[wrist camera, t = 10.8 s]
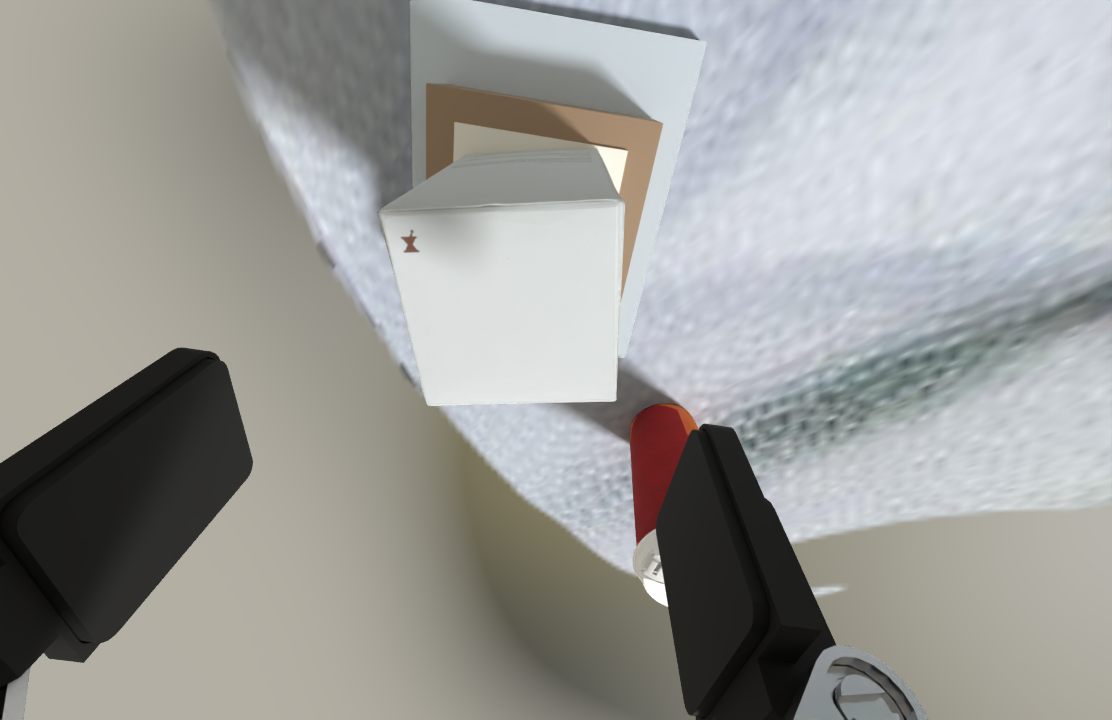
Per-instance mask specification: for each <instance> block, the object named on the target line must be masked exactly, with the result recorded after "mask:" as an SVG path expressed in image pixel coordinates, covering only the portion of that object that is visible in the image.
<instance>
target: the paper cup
mask: <svg viewBox="0 0 1112 720" xmlns="http://www.w3.org/2000/svg"><path fill="white" fill-rule="evenodd" d="M694 429H695V430H699V429H698V427H697V425H696V423H695V421H694V419H693V417H692V416H691V415H690V413H689V412H688V411H686V410H685V409H683V408H682V407H679V406H677V405H673V404H657V405H653V406H650V407H648V408H646V409H644V410H642V411H641V412H640V413H639V414H638V415H637V416H636V417H635V418H634V420H633V422H632V424H631V428H630V451H631V468H632V484H633V499H634V516H635V530H636V545H637V547H636V549H635V551H634V555H633V567H634V570H635V572H636V574H637V576H638V577H639V579H640V580H641V581H642V583H643V586H644V588H645V589H646V591H647V592H648V594H649V595H650V596H651V597H652V598H653V599H655V600H656V601H657V602H659V603H661V604H663V605H665V606H668V603H667V597H666V590H665V584H664V578H663V572H662V566H661V560H660V554H659V548H658V542H657V536H656V521H657V516H658V513H659V511H660V508H661V506H662V503H663V501H664V498H665V495H666V493H667V490H668V488H669V485H670V483H671V480H672V477H673V475H674V472H675V470H676V467H677V465H678V462H679V459H680V457H681V454H682V452H683V449H684V447H685V444H686V442H687V439H688V436H689V434H690V432H691V431H692V430H694Z"/></svg>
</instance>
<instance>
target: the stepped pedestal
mask: <svg viewBox="0 0 1112 720" xmlns="http://www.w3.org/2000/svg"><path fill="white" fill-rule="evenodd" d="M706 45H707V42H705V41H699V40H694V39H688V38H682V37H677V36H671V35H665V34H660V33H654V32H648V31H643V30H637V29H632V28H626V27H620V26H615V25H609V24H603V23H598V22H592V21H586V20H581V19H575V18H569V17H564V16H558V15H552V14H547V13H541V12H536V11H530V10H524V9H519V8H513V7H507V6H502V5H496V4H490V3H485V2H479V1H473V0H410V60H411V131H412V189H413V188H414V187H416V186H417V185H419V184H420V183H422V182H424V181H425V180H427V179H428V178H430V177H431V176H433V175H435V174H436V173H438V172H439V171H441V170H443V169H444V168H446V167H447V166H449V165H450V164H452V163H453V162H455V161H456V160H458V159H460V158H461V157H463V156H464V155H470V154H485V153H502V152H518V151H533V150H553V149H577V148H597V149H598V151H599V153H600V155H601V157H602V158H603V161H604V163H605V165H606V167H607V170H608V172H609V174H610V176H611V179H612V181H613V183H614V186H615V188H616V190H617V192H618V193H619V195H620V196H621V198H622V199H623V201H624V203H625V217H624V242H623V264H622V285H621V304H620V323H619V343H618V357H621V358H625V356H626V352H627V349H628V345H629V341H630V337H631V333H632V329H633V326H634V322H635V318H636V314H637V310H638V306H639V303H640V299H641V295H642V291H643V287H644V283H645V279H646V276H647V272H648V268H649V264H650V260H651V256H652V253H653V249H654V245H655V241H656V237H657V233H658V230H659V226H660V222H661V218H662V214H663V210H664V207H665V203H666V199H667V195H668V191H669V187H670V184H671V180H672V176H673V172H674V168H675V164H676V160H677V157H678V153H679V149H680V145H681V141H682V137H683V134H684V130H685V126H686V122H687V118H688V114H689V111H690V107H691V103H692V99H693V95H694V91H695V88H696V84H697V80H698V76H699V72H700V68H701V65H702V61H703V57H704V53H705V49H706Z"/></svg>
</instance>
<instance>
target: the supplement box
mask: <svg viewBox="0 0 1112 720" xmlns="http://www.w3.org/2000/svg"><path fill="white" fill-rule="evenodd" d="M378 216H379V220H380V223H381V227H382V231H383V234H384V238H385V242H386V245H387V249H388V253H389V257H390V260H391V264H392V268H393V272H394V275H395V279H396V283H397V287H398V291H399V295H400V299H401V304H402V308H403V312H404V316H405V320H406V324H407V328H408V333H409V337H410V341H411V345H412V349H413V353H414V357H415V361H416V365H417V369H418V374H419V377H420V382H421V386H422V390H423V394H424V397H425V400H426V403H427V405H429V406H443V405H477V404H521V403H564V402H613V401H616V400H617V399H616V390H617V368H618V343H619V323H620V304H621V285H622V264H623V242H624V217H625V203H624V201H623V199H622V198H621V196H620V195H619V193H618V192H617V190H616V188H615V186H614V183H613V181H612V179H611V176H610V174H609V172H608V170H607V167H606V165H605V163H604V161H603V158H602V157H601V155H600V153H599V151H598V149H597V148H577V149H553V150H533V151H518V152H502V153H485V154H470V155H464V156H463V157H461V158H460V159H458V160H456V161H455V162H453V163H452V164H450V165H449V166H447V167H446V168H444V169H443V170H441V171H439V172H438V173H436V174H435V175H433V176H431V177H430V178H428V179H427V180H425V181H424V182H422V183H420V184H419V185H417V186H416V187H414V188H413V189H411V190H410V191H408V192H406V193H405V194H403V195H402V196H400V197H398V198H397V199H395V200H394V201H392V202H390V203H389V204H387V205H386V206H384V207H383V208H381V209H380V210H379V211H378Z"/></svg>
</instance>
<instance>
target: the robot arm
mask: <svg viewBox="0 0 1112 720" xmlns="http://www.w3.org/2000/svg"><path fill="white" fill-rule="evenodd" d="M252 465H253V461H252V456H251V452H250V448H249V445H248V441H247V437H246V434H245V430H244V426H243V423H242V419H241V416H240V412H239V408H238V404H237V401H236V397H235V393H234V390H233V386H232V382H231V379H230V375H229V371H228V368H227V366H226V364H225V363H224V362H223V361H220V359H219V357H218V356H217V355H216V354H215V353H213V352H210V351H203V350H196V349H189V348H177V349H174V350H172V351H170V352H169V353H167V354H166V355H164V356H163V357H161V358H160V359H158V360H157V361H155V362H154V363H152V364H151V365H149V366H148V367H146V368H145V369H143V370H142V371H140V372H138V373H137V374H135V375H134V376H133V377H131V378H129V379H128V380H126V381H125V382H123V383H122V384H120V385H119V386H117V387H116V388H114V389H113V390H111V391H110V392H108V393H107V394H105V395H104V396H102V397H101V398H99V399H97V400H96V401H94V402H93V403H92V404H90V405H88V406H87V407H85V408H84V409H82V410H81V411H79V412H78V413H76V414H75V415H73V416H72V417H70V418H69V419H67V420H66V421H64V422H63V423H61V424H60V425H58V426H56V427H55V428H53V429H52V430H50V431H49V432H47V433H46V434H44V435H43V436H41V437H40V438H38V439H37V440H35V441H34V442H32V443H31V444H29V445H27V446H26V447H24V448H23V449H22V450H20V451H18V452H17V453H15V454H14V455H12V456H11V457H9V458H8V459H6V460H5V461H3V462H2V463H0V720H23V719H24V711H25V703H26V695H27V688H28V681H29V673H30V666H31V665H32V664H33V663H34V662H35V661H36V660H37V659H38V658H39V657H40V656H41V655H42V654H43V653H45V655H46V656H47V657H48V658H49V659H57V660H66V661H74V662H82V663H84V662H85V660H86V659H87V658H88V657H89V656H90V655H91V654H92V652H93V651H94V650H95V649H96V648H97V646H98V645H99V644H100V643H102V642H105V641H108V640H109V639H111V638H112V637H113V636H114V635H115V634H116V633H117V632H118V631H119V630H120V629H121V628H122V627H123V625H124V624H125V623H126V622H127V621H128V619H129V618H130V617H131V616H132V615H133V614H134V612H135V611H136V610H137V609H138V608H139V607H140V605H141V604H142V603H143V602H144V601H145V599H146V598H147V597H148V596H149V595H150V593H151V592H152V591H153V590H154V589H155V587H156V586H157V585H158V584H159V583H160V582H161V580H162V579H163V578H164V577H165V575H166V574H167V573H168V572H169V571H170V569H171V568H172V567H173V566H174V565H175V564H176V563H177V561H178V560H179V559H180V558H181V557H182V555H183V554H184V553H185V552H186V551H187V549H188V548H189V547H190V546H191V545H192V543H193V542H194V541H195V540H196V539H197V538H198V536H199V535H200V534H201V533H202V532H203V530H204V529H205V528H206V527H207V526H208V524H209V523H210V522H211V521H212V520H213V518H214V517H215V516H216V515H217V514H218V512H219V511H220V510H221V509H222V508H223V507H224V505H225V504H226V503H227V502H228V501H229V499H230V498H231V497H232V496H233V495H234V494H235V492H236V491H237V490H238V489H239V488H240V486H241V485H242V484H243V483H244V482H245V480H246V479H247V478H248V476H249V475H250V473H251V470H252ZM656 536H657V542H658V548H659V554H660V560H661V566H662V572H663V578H664V584H665V590H666V597H667V603H668V609H669V615H670V621H671V627H672V632H673V639H674V645H675V651H676V657H677V663H678V668H679V675H680V681H681V687H682V693H683V699H684V704H685V708H686V710H687V712H688V714H689V715H692V716H696V720H929V719H928V716H927V713H926V712H925V710H924V708H923V707H922V705H921V704H920V702H919V700H918V699H917V697H916V695H915V694H914V693H913V692H912V690H911V689H910V688H909V687H908V686H907V684H906V683H905V682H904V681H903V680H902V679H901V678H900V677H899V676H898V675H897V674H896V673H895V672H894V671H893V670H891V669H890V668H889V667H888V666H887V665H886V664H884V663H883V662H882V661H880V660H878V659H877V658H875V657H873V656H872V655H870V654H868V653H867V652H865V651H862V650H859V649H856V648H853V647H850V646H836V643H835V641H834V639H833V637H832V635H831V632H830V630H829V628H828V626H827V624H826V621H825V619H824V617H823V615H822V613H821V610H820V608H819V606H818V604H817V601H816V599H815V597H814V595H813V593H812V590H811V588H810V586H809V584H808V582H807V579H806V577H805V575H804V573H803V571H802V568H801V566H800V564H799V562H798V560H797V557H796V555H795V553H794V551H793V548H792V546H791V544H790V542H789V540H788V537H787V535H786V533H785V531H784V529H783V526H782V524H781V522H780V520H779V518H778V515H777V513H776V511H775V509H774V507H773V506H772V504H771V502H769V501H768V500H767V499H766V498H764V496H763V493H762V491H761V489H760V486H759V484H758V482H757V480H756V477H755V475H754V473H753V471H752V468H751V466H750V464H749V462H748V459H747V457H746V455H745V452H744V450H743V448H742V446H741V443H740V441H739V439H738V437H737V434H736V432H735V431H734V429H733V428H731V427H724V426H717V425H710V424H703V425H702V426H701V427H700V428H699V430H695V429H694V430H692V431H691V432H690V434H689V436H688V439H687V442H686V444H685V447H684V449H683V452H682V454H681V457H680V459H679V462H678V465H677V467H676V470H675V472H674V475H673V477H672V480H671V483H670V485H669V488H668V490H667V493H666V495H665V498H664V501H663V503H662V506H661V508H660V511H659V513H658V516H657V521H656Z"/></svg>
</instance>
